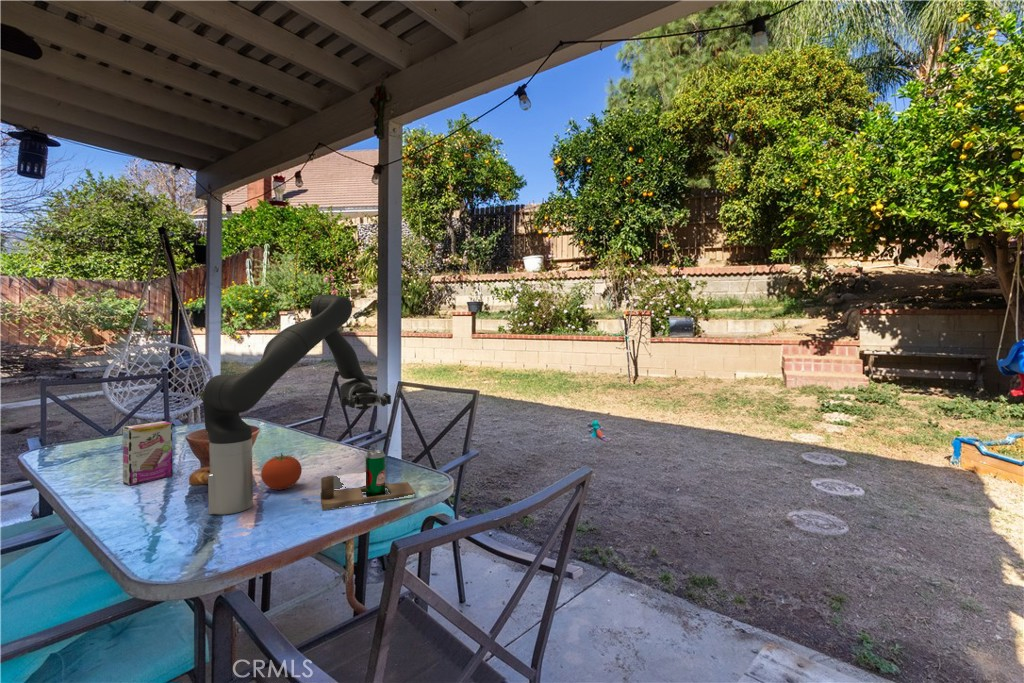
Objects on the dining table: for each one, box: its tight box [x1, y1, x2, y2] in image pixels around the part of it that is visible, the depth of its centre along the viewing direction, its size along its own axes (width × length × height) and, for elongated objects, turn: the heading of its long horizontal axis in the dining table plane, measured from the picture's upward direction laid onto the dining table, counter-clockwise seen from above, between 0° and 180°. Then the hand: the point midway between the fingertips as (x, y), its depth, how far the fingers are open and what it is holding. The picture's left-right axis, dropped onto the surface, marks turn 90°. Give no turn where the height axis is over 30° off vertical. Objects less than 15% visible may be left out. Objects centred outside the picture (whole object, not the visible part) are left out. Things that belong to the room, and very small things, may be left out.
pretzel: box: [188, 466, 210, 486], centre depth 145 cm, size 12×11×4 cm
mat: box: [326, 474, 346, 489], centre depth 143 cm, size 12×13×1 cm
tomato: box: [260, 452, 303, 491], centre depth 137 cm, size 10×10×10 cm
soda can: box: [365, 449, 387, 497], centre depth 130 cm, size 5×5×12 cm
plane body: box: [319, 476, 416, 511], centre depth 130 cm, size 23×9×6 cm, turn 114°
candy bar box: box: [121, 420, 173, 486], centre depth 144 cm, size 11×5×16 cm, turn 149°
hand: (369, 403), depth 141 cm, fingers open, 8 cm apart
